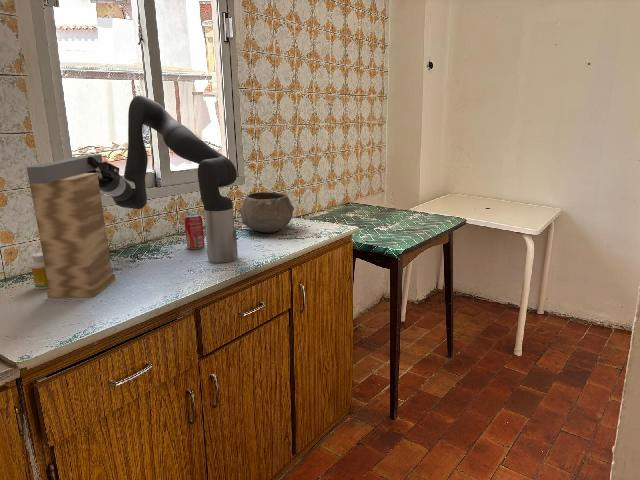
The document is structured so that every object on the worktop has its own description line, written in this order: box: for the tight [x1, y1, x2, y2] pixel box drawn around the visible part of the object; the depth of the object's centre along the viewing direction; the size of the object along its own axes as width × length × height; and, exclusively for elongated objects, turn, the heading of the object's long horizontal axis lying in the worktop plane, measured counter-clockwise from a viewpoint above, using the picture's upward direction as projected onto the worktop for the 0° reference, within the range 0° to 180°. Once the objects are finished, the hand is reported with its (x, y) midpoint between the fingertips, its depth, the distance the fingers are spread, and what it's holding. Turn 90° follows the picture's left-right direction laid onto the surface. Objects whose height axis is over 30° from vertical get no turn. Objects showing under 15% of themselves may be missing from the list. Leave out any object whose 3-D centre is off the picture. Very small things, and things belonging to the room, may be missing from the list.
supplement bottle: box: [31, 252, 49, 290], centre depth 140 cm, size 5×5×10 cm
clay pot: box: [238, 191, 295, 234], centre depth 194 cm, size 21×21×15 cm
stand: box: [29, 173, 116, 298], centre depth 134 cm, size 13×13×32 cm
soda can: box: [183, 213, 206, 250], centre depth 175 cm, size 6×6×12 cm
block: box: [26, 153, 104, 185], centre depth 132 cm, size 4×30×4 cm, turn 178°
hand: (81, 159), depth 138 cm, fingers closed on block, 4 cm apart
